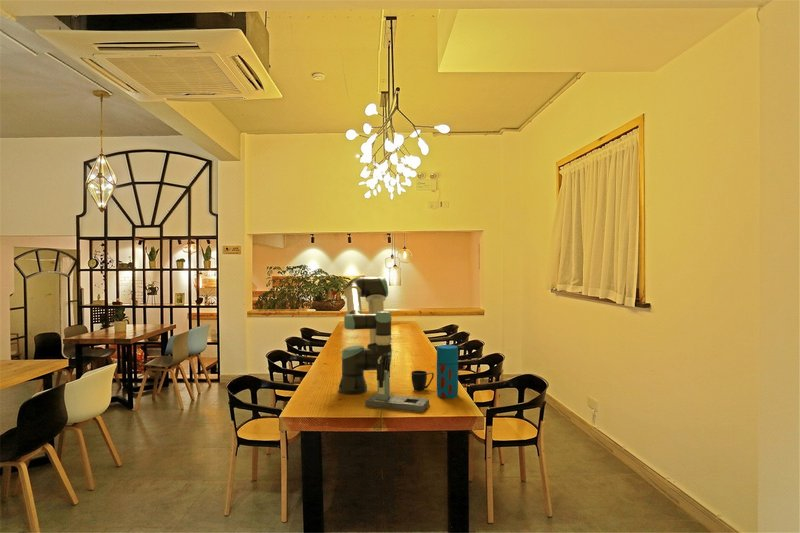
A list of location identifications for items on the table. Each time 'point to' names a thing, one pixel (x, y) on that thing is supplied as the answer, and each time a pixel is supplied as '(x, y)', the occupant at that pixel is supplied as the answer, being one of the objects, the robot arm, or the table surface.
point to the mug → (420, 380)
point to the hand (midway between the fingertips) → (383, 392)
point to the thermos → (447, 371)
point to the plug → (387, 387)
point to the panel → (398, 403)
